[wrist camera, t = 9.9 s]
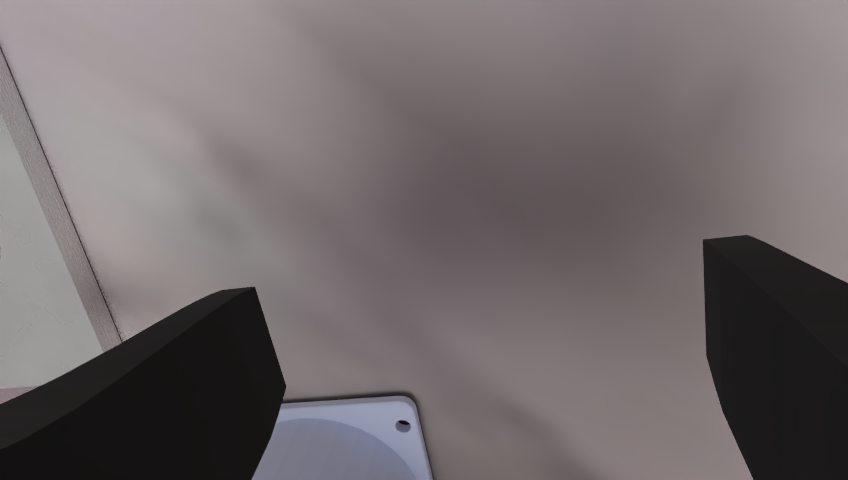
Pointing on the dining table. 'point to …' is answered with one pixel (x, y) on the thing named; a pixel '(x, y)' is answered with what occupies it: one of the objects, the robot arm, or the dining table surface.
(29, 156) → the chassis
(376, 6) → the dining table surface
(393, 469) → the robot arm
